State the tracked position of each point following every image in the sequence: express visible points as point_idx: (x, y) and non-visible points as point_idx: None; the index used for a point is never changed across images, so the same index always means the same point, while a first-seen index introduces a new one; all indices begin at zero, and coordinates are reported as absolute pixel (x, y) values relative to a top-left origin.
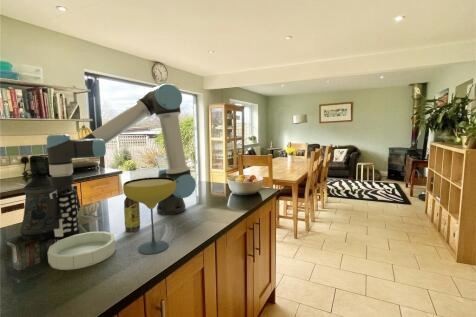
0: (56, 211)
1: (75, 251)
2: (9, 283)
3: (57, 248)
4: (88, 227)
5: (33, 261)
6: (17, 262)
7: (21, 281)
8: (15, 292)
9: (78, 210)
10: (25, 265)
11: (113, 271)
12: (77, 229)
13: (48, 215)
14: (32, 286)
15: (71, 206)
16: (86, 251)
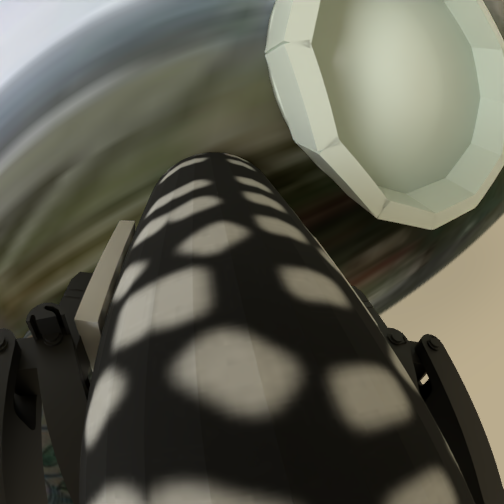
0: (451, 395)
1: (398, 113)
2: (468, 240)
3: (405, 199)
4: (10, 215)
5: (387, 256)
6: (369, 300)
7: (474, 218)
8: (498, 205)
9: (47, 314)
10: (403, 263)
11: (489, 7)
12: (232, 175)
13: (424, 398)
14: (497, 181)
15: (410, 402)
16: (409, 63)
